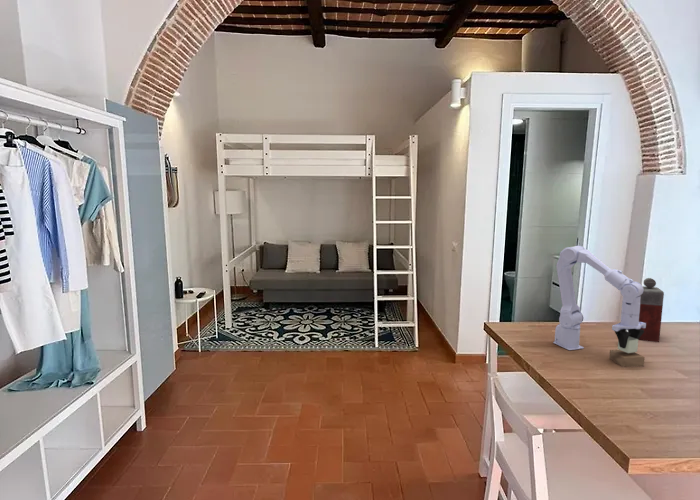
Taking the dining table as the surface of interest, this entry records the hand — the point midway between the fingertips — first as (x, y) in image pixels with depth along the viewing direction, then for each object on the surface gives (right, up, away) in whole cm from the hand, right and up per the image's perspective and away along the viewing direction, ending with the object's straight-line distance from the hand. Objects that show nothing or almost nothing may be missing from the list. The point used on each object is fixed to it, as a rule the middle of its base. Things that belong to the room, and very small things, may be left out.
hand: (627, 346), depth 156 cm
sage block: (0, -1, 0) cm, 1 cm away
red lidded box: (+28, -3, +29) cm, 40 cm away
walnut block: (0, -7, +1) cm, 7 cm away
